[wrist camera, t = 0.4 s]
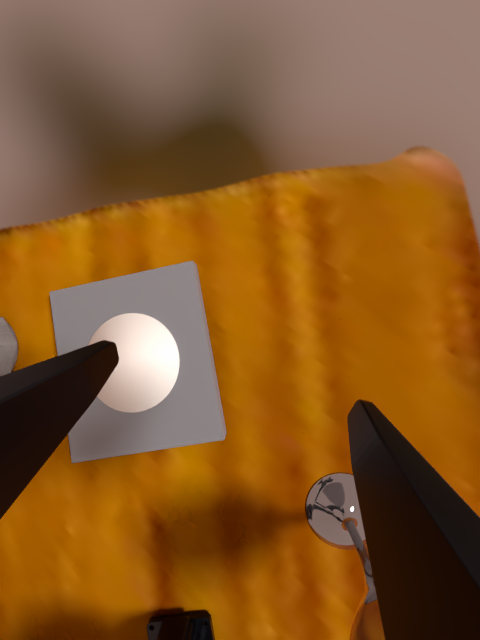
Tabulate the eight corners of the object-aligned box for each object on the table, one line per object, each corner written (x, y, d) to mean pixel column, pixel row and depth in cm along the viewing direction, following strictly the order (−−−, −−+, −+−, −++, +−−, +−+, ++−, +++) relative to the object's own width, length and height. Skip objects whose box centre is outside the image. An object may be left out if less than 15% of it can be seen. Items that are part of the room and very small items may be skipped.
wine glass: (403, 507, 21) (784, 971, 6) (351, 571, 21) (591, 1192, 6) (335, 451, 21) (512, 729, 6) (285, 513, 21) (346, 927, 7)
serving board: (226, 432, 22) (224, 440, 21) (83, 454, 24) (70, 464, 22) (196, 265, 24) (191, 260, 22) (61, 294, 25) (47, 291, 23)
